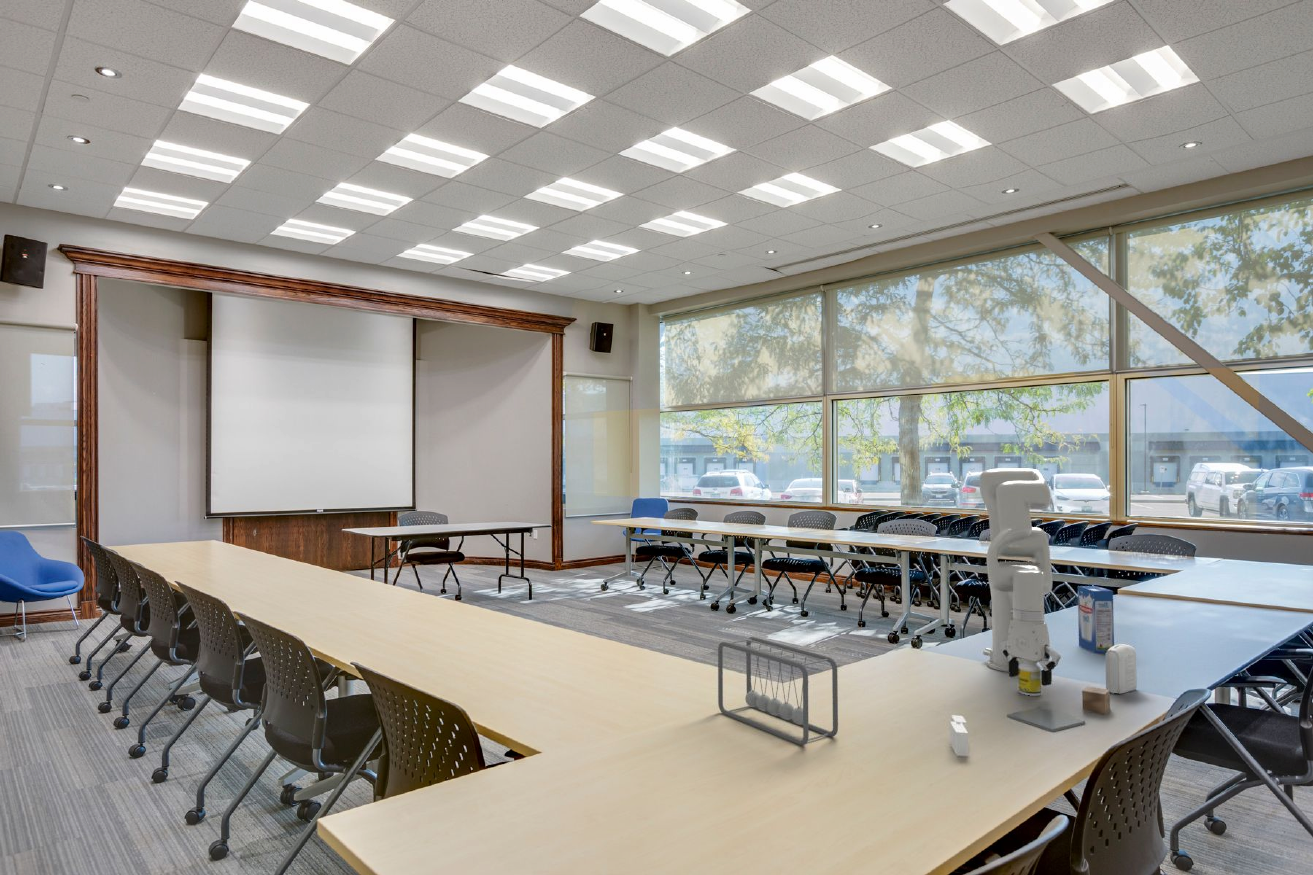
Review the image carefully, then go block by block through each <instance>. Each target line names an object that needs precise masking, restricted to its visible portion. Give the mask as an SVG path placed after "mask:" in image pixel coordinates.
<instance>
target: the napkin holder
mask: <svg viewBox="0 0 1313 875" xmlns="http://www.w3.org/2000/svg"><path fill="white" fill-rule="evenodd" d="M950 719H951V720H950V721H949V737H950V738H949V741H950V742H949V745H950V746H951V748H952V750H953V751H954V753H955V755H956V757H959V756H960V757H969V732H968V723H967V721H966V719H965V717H964V716H963V715H954V714H953V715H951V716H950Z"/></svg>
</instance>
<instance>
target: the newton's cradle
mask: <svg viewBox="0 0 1313 875" xmlns="http://www.w3.org/2000/svg"><path fill="white" fill-rule="evenodd" d="M744 642H746V646H745V645H742V644H738V643H744ZM752 643H755V644H756V646H758V645H759V646H758V647H759V648H758V649H756V648H752V647H753V646H755V644H752ZM761 646H764V648H761ZM724 647H726V648H729V649H731V650H736V651H740V652H742V653H745V655H746V656H745V657H746V659H745V661H746V670H745V671H746V695H745V703H746V704H747V705H746V706H743V707H738V708H735V709H729V710H727V709H726V708H725V706H724V696H723V695H724V689H723V688H724V683H723V682H724V679H723V678H724V676H723V675H724V674H723V673H724V672H723V671H724V669H723V667H724V666H723V665H724V664H723V660H724V659H723V658H724V657H723V656H724V655H723V651H724ZM765 647H767V649H769V648H770V649H769V652H766V651H762V650H763V649H765ZM717 648H718V649H717V675H718V676H717V684H718V685H717V687H718V688H717V692H718V693H717V699H718V700H717V703H718V709H719V711H720V712H721V713H722V714H723V715H725V716H727V717H730V718H732V719H734V720H737V721H739V722H742V723H744V724H746V725H749V726H752V727H753V728H757V729H759V730H761V731H764V732H766V733H769V734H771V735H773V734H774V736H776V737H778V738H782V739H783V740H785V741H788V740H789V742H791V743H793V742H794V743H793V744H796V745H798V746H805V745H807V744H808V742H810V741H813V740H817V739H820V738H824V737H830V738H833V737H835V736H836V735H837V734H838V731H839V712H838V711H839V708H838V707H839V704H838V703H839V700H838V699H839V698H838V697H839V696H838V694H839V693H838V689H839V688H838V665H837V662H836V661H835V660H834V658H832V657H830V656H827V655H823V654H819V653H816V652H812V651H809V650H804V649H800V648H797V647H793V646H790V645H787V644H782V643H778V642H774V641H771V640H767V639H763V638H760V637H757V636H756V637H755V636H750V637H748V638H747V639H746V638H745V639H742V640H740V639H739V640H736V641H730V642H729V641H728V642H727V641H721V642H720V643H719V645H718V647H717ZM772 649H776V650H774V651H773V653H776V652H777V650H778V652H780V651H781V653H780V655H776V654H773V653H772ZM783 652H786V653H788V654H786V656H788V655H790V654H791V655H792V658H787V657H784V656H785V654H783ZM752 655H753V656H756V660H757V664H756V670H755V673H756V674H755V676H757V675H758V674H759V681H760V687H761V688H760V689H761V695H760V693H759V692H758V691H755V689H756V685H753V686H754V688H753V687H752ZM795 655H798V656H801V657H797V658H796V657H795ZM794 657H795V658H794ZM759 658H764V659H765V660H767V664H768V665H767V666H768V667H767V670H768V671H766V672H767V674H766V678H768V675H770V676H769V677H770V679H772V675H771V669H770V668H771V667H770V661H773V662H776V663H778V664H779V669H778V675H780V676H778V677H777V678H778V679H777V683H780V682H779V680H780V678H781V684H782V686H784V681H783V675H782V668H781V666H782V664H783V665H785V666H786V665H787V666H790V668H791V670H790V675H792V676H790V679H789V683H791V681H792V679H793V685H794V686H793V687H794V691H795V697H796V702H797V707H794V706H793V705H792V704H791V703H790V702H789V700H787V701H786V697H785V696H786V695H785V688H784V687H782V690H783V697H784V702H782V701H781V700H780V699H778V698H777V697H778V692H776V694H775V693H774V688H773V681H772V680H770V684H771V691H772V697H773V698H772V699H771V697H769V696H768V695H767V694H766V692H767V687H765V689H764V692H763V686H762V678H761V671H760V666H759V661H760V660H759ZM801 658H802V659H803V658H804V662H802V661H799V660H797V659H801ZM807 658H808V659H813V660H816V661H811V662H806V661H807ZM822 662H827V663H828V664H830V665H831V669H832V672H831V675H832V677H831V679H832V683H831V684H832V686H831V687H832V730H831V731H830V730H828V729H824V728H821V727H819V726H817V725H815V724H811V723H809V672H808V670H807V668H806V666H810V665H813V664H819V663H822ZM793 668H796V669H799V670H800V671H801V674H802V685H801V686H802V688H801V693H802V694H801V695H800V696H801V698H800V699H801V700H800V703H802V704H800V705H799V702H798V701H799V700H798V694H797V689H796V684H795V682H796V681H795V678H794V677H795V676H794V671H793ZM757 673H758V674H757ZM756 683H757V677H755V680H754V684H756ZM767 683H768V679H766V682H765V686H768V684H767ZM776 687H777V688H776V691H778V690H779V684H777V686H776ZM790 689H791V684H789V686H788V691H790ZM774 694H775V696H774ZM789 697H790V692H788V695H787V699H789ZM748 708H753V709H756V710H758V711H761V712H763V713H765V714H769V715H771V716H774V717H777V718H779V719H781V720H784V721H787V722H790V723H792V724H795V725H799V726H801V727H802V730H803V731H802V737H803V738H802V739H799V738H797V737H795V736H792V735H791V734H787V733H784V732H782V731H780V730H777V729H774V728H772V727H769V726H767V725H765V724H762V723H759V722H757V721H754V720H752V719H750V718H747V717H744V716H742V715H740V714H737V713H734V712H736V711H740V710H744V709H748ZM809 730H811V731H813V732H816V733H819V734H821V735H818V736H814V737H812V738H809Z"/></svg>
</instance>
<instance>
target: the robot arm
mask: <svg viewBox="0 0 1313 875" xmlns="http://www.w3.org/2000/svg"><path fill="white" fill-rule="evenodd" d="M978 482H979V483H978V484H979V491H980V496H981V498H982V501H983V504H984V505H985V508H986V510H987V515H988V522H989V536H990V544H989V546H988V549H987V552H986V567H987V580H988V583H989V584H988V585H989V589H990V596H991V621H992V622H991V624H992V628H991V629H992V632H991V633H992V639H991V640H992V648H989V647H986V648H984V650H983V653H982V655H983V656H988V657H989V659H988V660H987V666H988V667H989V668H990V669H993V670H997V671H1001V672H1006V673H1008V676H1009V677H1010V678H1013V677H1019V664H1021V663H1022V661H1021V659H1024V660H1028V661H1033V662H1038V663H1039V666H1040V667H1041V669H1042V670H1041V686H1043V687H1047V686H1050V685H1052V681H1053V678H1052V677H1053V674H1052V670H1054V669H1055V668H1056V666H1058V664H1059V662H1060V659H1061V657H1062V656H1061V655H1060V654H1059V653H1058V652H1057V651H1055V650H1054V649H1053V648H1052V647H1051V643H1050V634H1049V630H1048V625H1047V622H1045V595H1048V594H1050V593H1051V591H1052V589H1053V571H1052V563H1051V553H1050V543H1049V539H1048V536H1047V533H1046V531H1044V530H1043V529H1042V528H1040V527H1035V526H1034V527H1033V526H1032V518H1031V511H1035V510H1036V511H1043V510H1045V511H1046V510H1047V509H1049V507H1050V505H1051V502H1052V497H1051V496H1052V495H1051V490H1050V487H1049V485H1048V483H1047V480H1046V479H1045V477H1044V476H1043V474H1042V473H1041V471H1040V470H1038V469H1034V468H992V469H991V468H990V469H986V470H984V471H983V472H981V474H980V475H979V480H978ZM998 557H999V558H1004V559H1005V558H1006V559H1026V560H1027V559H1028V560H1031V562H1026V561H1025V562H1024V561H1023V562H1022V561H998V559H999V558H998ZM1050 659H1051V660H1050Z"/></svg>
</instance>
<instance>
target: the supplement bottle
mask: <svg viewBox="0 0 1313 875" xmlns="http://www.w3.org/2000/svg"><path fill="white" fill-rule="evenodd" d="M1021 661H1022V663H1021V664H1019V675H1018V691H1019V693H1020V694H1021V695H1024V694H1025V695H1024V696H1028V695H1030V696H1031V697H1038V696H1041V695H1042V684H1041V669H1042V667H1041V665H1040V664H1038V663H1039V662H1033V661H1028V660H1024V659H1021ZM1030 696H1029V697H1030Z"/></svg>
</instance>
